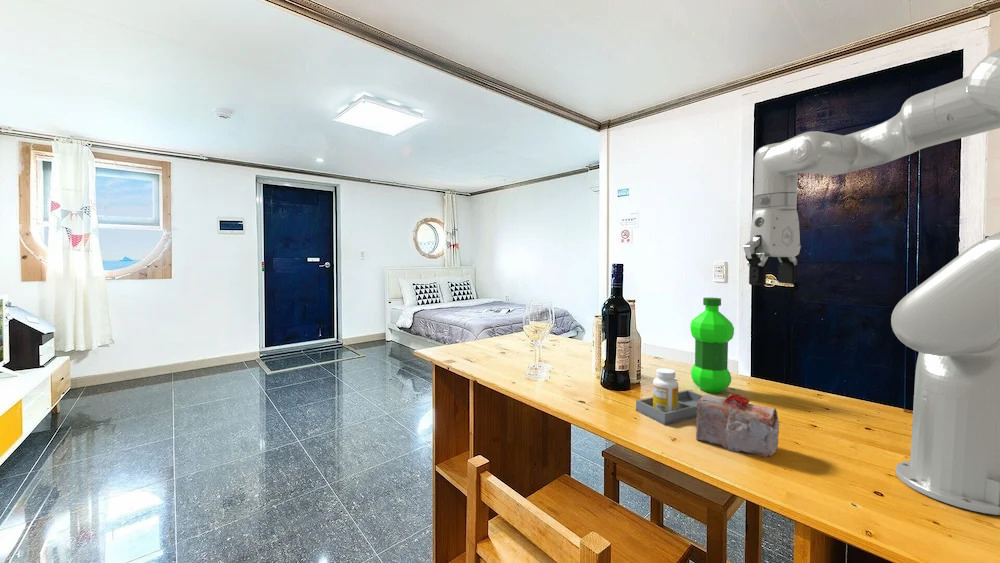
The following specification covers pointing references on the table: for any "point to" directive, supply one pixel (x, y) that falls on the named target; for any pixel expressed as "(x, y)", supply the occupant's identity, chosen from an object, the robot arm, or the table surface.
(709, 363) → the plastic bottle
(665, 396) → the supplement bottle
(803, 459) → the table surface
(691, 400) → the divided tray
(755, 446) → the food item
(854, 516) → the table surface
